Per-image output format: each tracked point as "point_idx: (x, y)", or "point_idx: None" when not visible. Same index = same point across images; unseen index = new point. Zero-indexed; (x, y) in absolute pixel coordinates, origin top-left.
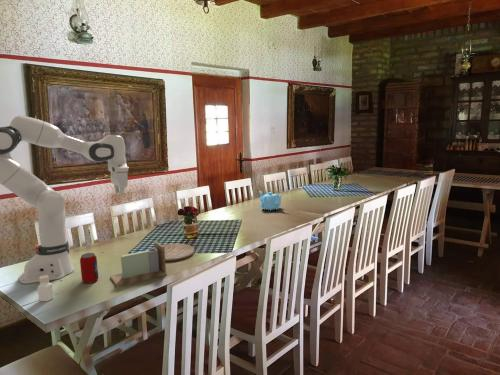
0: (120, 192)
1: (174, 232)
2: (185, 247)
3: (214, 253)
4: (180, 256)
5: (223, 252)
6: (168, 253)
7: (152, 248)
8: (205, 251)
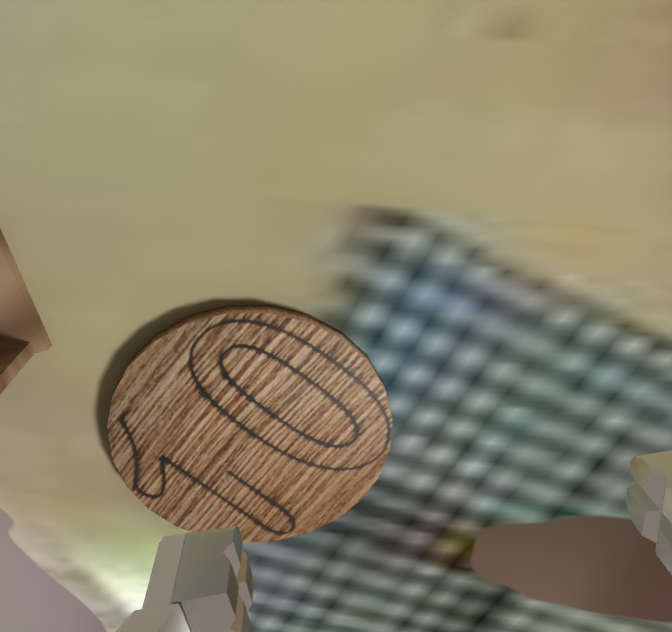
0: (141, 610)
1: None
2: (281, 511)
3: None
4: (135, 472)
5: None
6: (214, 426)
7: (353, 358)
8: None
